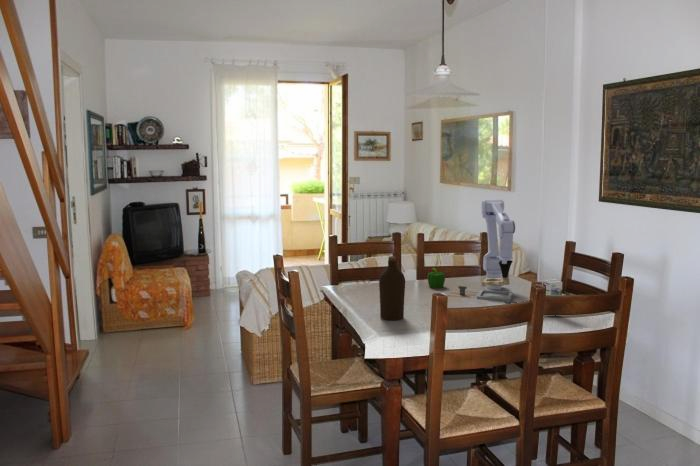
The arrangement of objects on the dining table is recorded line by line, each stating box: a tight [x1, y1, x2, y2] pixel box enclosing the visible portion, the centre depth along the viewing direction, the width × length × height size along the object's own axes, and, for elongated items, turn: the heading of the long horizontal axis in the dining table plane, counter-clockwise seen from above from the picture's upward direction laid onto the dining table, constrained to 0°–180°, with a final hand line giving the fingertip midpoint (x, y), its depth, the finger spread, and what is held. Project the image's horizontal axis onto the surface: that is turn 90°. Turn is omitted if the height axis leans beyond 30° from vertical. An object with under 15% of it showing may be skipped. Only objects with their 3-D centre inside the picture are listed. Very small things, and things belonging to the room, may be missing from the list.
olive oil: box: [378, 255, 406, 321], centre depth 250 cm, size 11×11×25 cm
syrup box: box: [542, 278, 563, 296], centre depth 254 cm, size 6×6×14 cm
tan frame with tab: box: [481, 272, 510, 287], centre depth 283 cm, size 12×9×6 cm
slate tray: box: [476, 289, 513, 304], centre depth 285 cm, size 14×14×2 cm
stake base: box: [447, 285, 479, 299], centre depth 289 cm, size 12×12×5 cm
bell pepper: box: [427, 267, 446, 289], centre depth 305 cm, size 8×8×10 cm
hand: (505, 276), depth 282 cm, fingers closed on tan frame with tab, 2 cm apart
